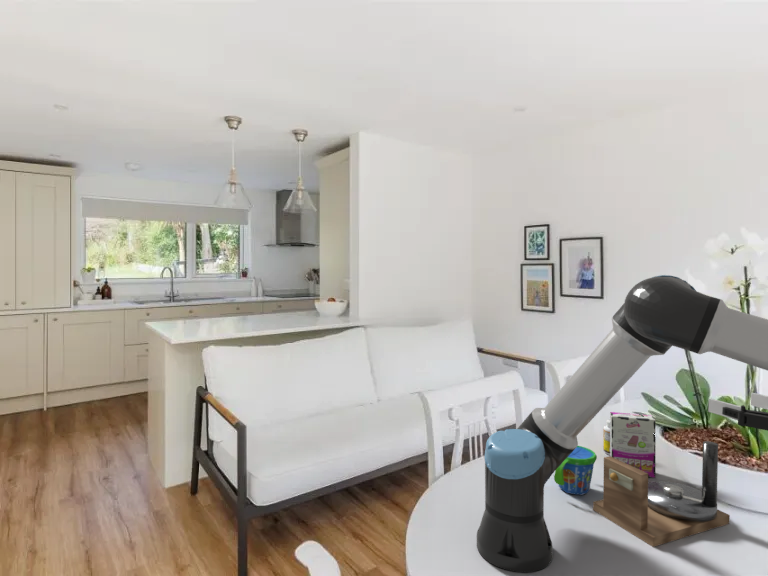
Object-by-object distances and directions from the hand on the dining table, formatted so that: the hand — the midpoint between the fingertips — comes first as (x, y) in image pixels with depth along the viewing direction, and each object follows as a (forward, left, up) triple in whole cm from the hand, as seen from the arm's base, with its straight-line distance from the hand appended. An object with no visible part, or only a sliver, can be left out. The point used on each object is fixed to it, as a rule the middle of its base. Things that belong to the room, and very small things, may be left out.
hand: (731, 401), depth 98 cm
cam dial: (-1, +11, -27) cm, 29 cm away
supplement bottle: (+14, +44, -30) cm, 55 cm away
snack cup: (-15, +30, -30) cm, 44 cm away
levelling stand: (-6, +12, -30) cm, 32 cm away
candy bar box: (+8, +32, -30) cm, 44 cm away
